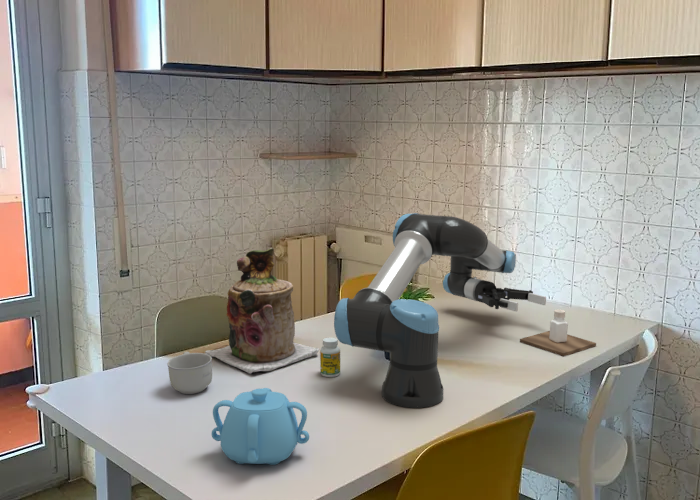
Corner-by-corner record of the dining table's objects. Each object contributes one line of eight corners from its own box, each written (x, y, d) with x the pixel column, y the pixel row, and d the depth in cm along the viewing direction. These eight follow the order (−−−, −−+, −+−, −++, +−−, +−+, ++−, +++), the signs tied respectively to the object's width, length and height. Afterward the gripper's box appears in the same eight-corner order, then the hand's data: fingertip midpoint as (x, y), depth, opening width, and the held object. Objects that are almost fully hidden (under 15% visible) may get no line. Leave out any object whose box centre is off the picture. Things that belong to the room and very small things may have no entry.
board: (563, 356, 198) (563, 353, 198) (519, 342, 210) (519, 338, 210) (596, 346, 207) (596, 342, 207) (552, 332, 220) (552, 329, 220)
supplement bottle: (340, 370, 186) (340, 336, 184) (340, 377, 180) (340, 342, 179) (320, 370, 185) (320, 336, 184) (320, 377, 180) (320, 342, 178)
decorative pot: (276, 429, 150) (275, 370, 148) (315, 458, 137) (315, 394, 135) (207, 449, 141) (205, 386, 139) (242, 482, 128) (240, 413, 126)
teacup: (212, 396, 167) (211, 365, 166) (166, 399, 166) (165, 368, 164) (213, 376, 181) (212, 347, 179) (171, 378, 179) (170, 349, 178)
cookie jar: (268, 337, 214) (267, 236, 208) (322, 356, 197) (322, 247, 191) (201, 355, 196) (197, 246, 190) (254, 378, 180) (252, 259, 174)
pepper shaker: (556, 343, 206) (558, 313, 204) (548, 339, 210) (550, 309, 208) (567, 342, 208) (569, 312, 206) (559, 338, 211) (561, 308, 210)
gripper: (455, 284, 223) (505, 297, 206) (506, 275, 238) (557, 287, 221) (454, 306, 224) (504, 321, 207) (505, 296, 239) (555, 309, 222)
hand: (531, 304), depth 214 cm, fingers open, 13 cm apart
